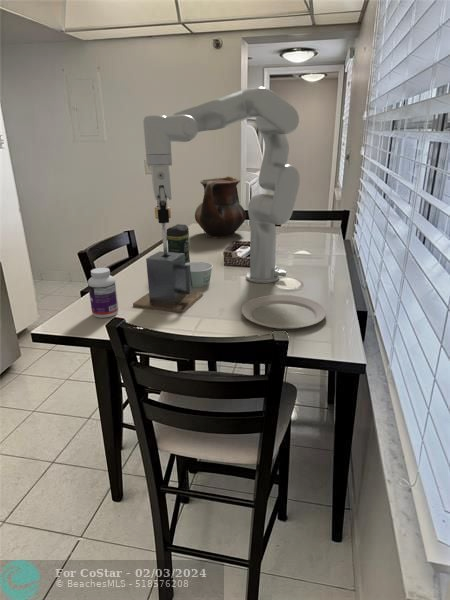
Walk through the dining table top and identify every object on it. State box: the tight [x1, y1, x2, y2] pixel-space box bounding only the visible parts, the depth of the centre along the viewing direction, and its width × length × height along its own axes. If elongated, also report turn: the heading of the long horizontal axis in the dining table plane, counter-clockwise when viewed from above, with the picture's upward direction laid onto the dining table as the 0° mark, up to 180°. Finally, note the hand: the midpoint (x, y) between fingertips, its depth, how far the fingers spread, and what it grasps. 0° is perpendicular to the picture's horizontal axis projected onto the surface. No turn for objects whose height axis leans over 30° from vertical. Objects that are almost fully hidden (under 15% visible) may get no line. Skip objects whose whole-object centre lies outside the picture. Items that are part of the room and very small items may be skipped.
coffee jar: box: [166, 223, 191, 264], centre depth 171 cm, size 10×8×19 cm
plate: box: [240, 294, 327, 330], centre depth 130 cm, size 26×26×2 cm
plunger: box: [154, 206, 172, 257], centre depth 135 cm, size 6×6×20 cm
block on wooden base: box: [132, 250, 204, 314], centre depth 140 cm, size 18×16×16 cm
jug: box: [194, 175, 247, 239], centre depth 227 cm, size 32×28×30 cm
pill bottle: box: [87, 267, 119, 319], centre depth 130 cm, size 8×8×14 cm
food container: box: [185, 261, 214, 288], centre depth 158 cm, size 12×12×6 cm
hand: (163, 220), depth 132 cm, fingers open, 6 cm apart
